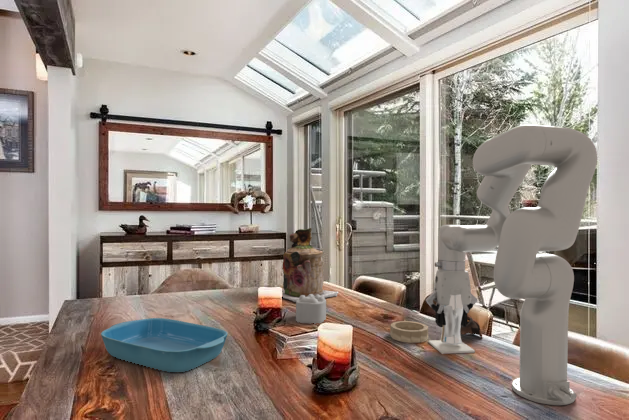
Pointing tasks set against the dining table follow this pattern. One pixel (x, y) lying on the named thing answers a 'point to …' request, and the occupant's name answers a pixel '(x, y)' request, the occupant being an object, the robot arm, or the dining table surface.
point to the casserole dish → (164, 343)
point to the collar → (409, 331)
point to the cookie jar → (303, 268)
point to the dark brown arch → (471, 327)
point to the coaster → (451, 347)
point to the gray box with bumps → (311, 309)
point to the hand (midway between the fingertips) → (451, 325)
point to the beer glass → (452, 321)
